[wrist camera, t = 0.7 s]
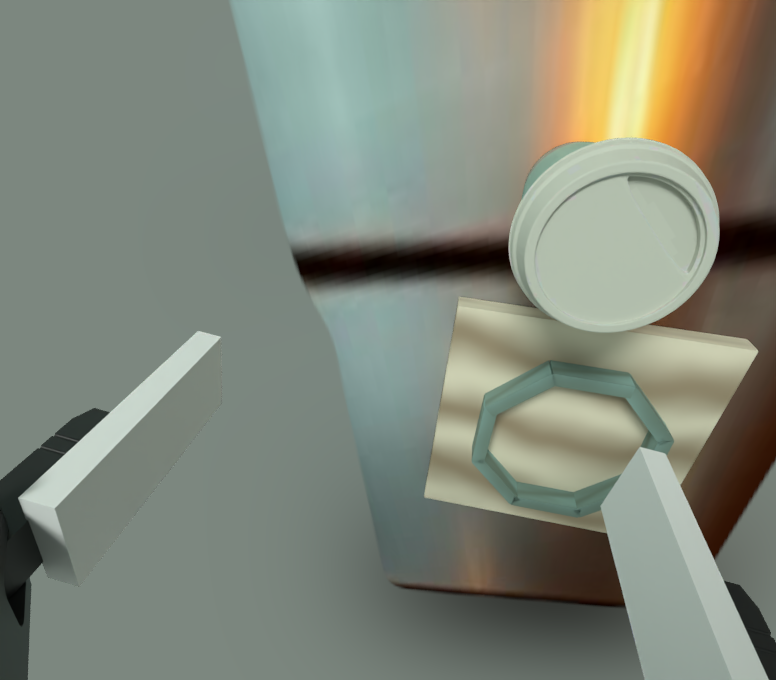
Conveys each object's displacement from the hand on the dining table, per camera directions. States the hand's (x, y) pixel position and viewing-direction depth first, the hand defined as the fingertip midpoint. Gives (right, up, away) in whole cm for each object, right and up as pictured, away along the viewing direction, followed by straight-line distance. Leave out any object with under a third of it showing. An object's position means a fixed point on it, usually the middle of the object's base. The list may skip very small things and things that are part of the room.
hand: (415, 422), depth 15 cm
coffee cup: (+11, +12, +15) cm, 22 cm away
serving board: (+13, -4, +24) cm, 28 cm away
